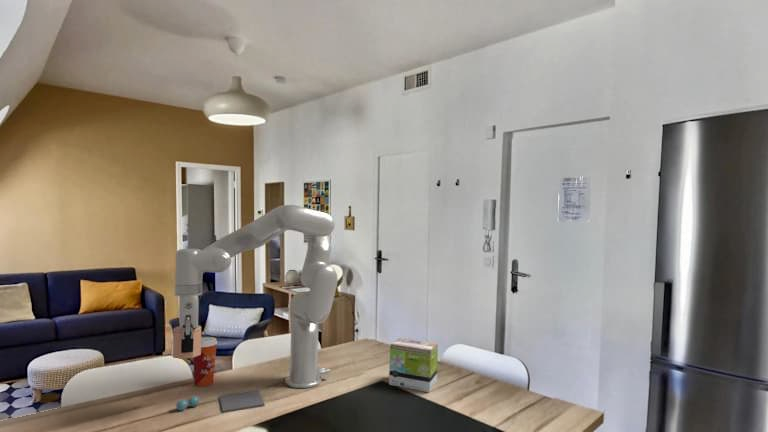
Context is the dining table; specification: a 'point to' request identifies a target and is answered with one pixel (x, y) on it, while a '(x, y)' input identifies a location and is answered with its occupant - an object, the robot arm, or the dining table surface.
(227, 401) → the charcoal mat
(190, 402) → the marble
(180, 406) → the marble
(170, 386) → the dining table surface
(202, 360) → the coffee cup
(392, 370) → the tea box
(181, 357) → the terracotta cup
